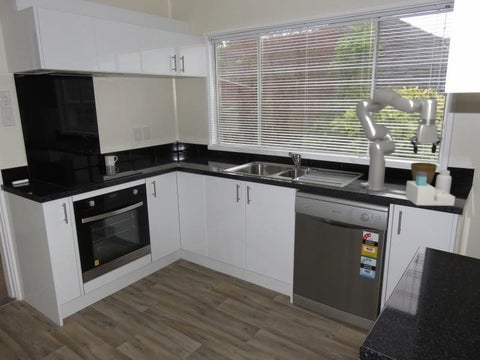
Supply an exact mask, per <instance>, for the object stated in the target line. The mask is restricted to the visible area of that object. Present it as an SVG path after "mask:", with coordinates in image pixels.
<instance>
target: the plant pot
mask: <svg viewBox="0 0 480 360" xmlns="http://www.w3.org/2000/svg"><path fill="white" fill-rule="evenodd" d="M410 166H411V167H410V168H411V169H410V171H411V175H412V177H411V178H412V181H416V175H417V172H426V173H427V179H426V183H427V184H429V185H431V183H432V182H433V180H434V178H435V177H434V176H435V174H436V170H437V167H438V165H437V164H436V163H433V162H432V163H431V162H412V163H411V164H410Z"/></svg>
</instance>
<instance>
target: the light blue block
mask: <svg viewBox="0 0 480 360" xmlns="http://www.w3.org/2000/svg"><path fill="white" fill-rule="evenodd" d="M426 179H427V173H426V172H417V175H416V185H418V186H426Z"/></svg>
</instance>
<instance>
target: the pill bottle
mask: <svg viewBox="0 0 480 360" xmlns="http://www.w3.org/2000/svg"><path fill="white" fill-rule="evenodd" d="M450 173H451V171H450V170H446V169H440V170H439V174H437V175H436V181H435V187H434V188H435V189H441V190H443V191H445V192H447V193H449V194H451V186H452V180H453V179H452V176H451V175H450Z"/></svg>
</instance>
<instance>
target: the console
mask: <svg viewBox="0 0 480 360" xmlns="http://www.w3.org/2000/svg"><path fill="white" fill-rule="evenodd" d="M405 198H406V199H408V200H409V201H410V202H411V203H413V204H414V205H416V206H455V201H456V200H455V199H456V196H454V195H453V194H451V193H447V192H445V191H443V190H441V189H435V187H434V186H432V185H431V184H430V185H429V184H427V183H426V186H418V185H416V181H413V180H406V189H405Z"/></svg>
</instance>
